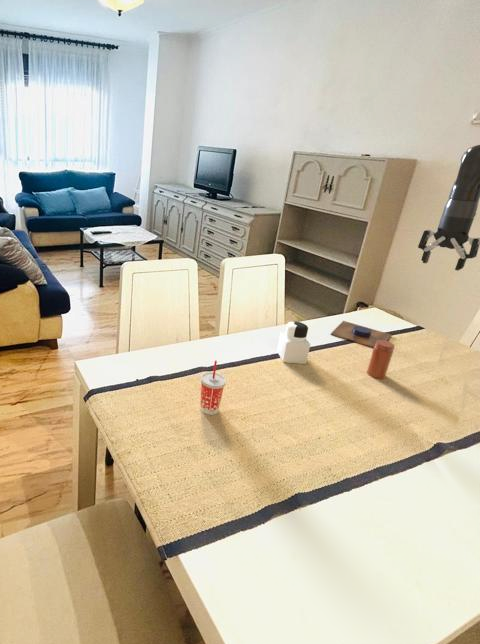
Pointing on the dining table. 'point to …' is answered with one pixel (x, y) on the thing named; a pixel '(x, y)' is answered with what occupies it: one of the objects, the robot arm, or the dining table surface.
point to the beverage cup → (211, 391)
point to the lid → (361, 331)
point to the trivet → (346, 333)
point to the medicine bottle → (294, 343)
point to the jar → (380, 359)
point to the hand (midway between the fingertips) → (440, 266)
